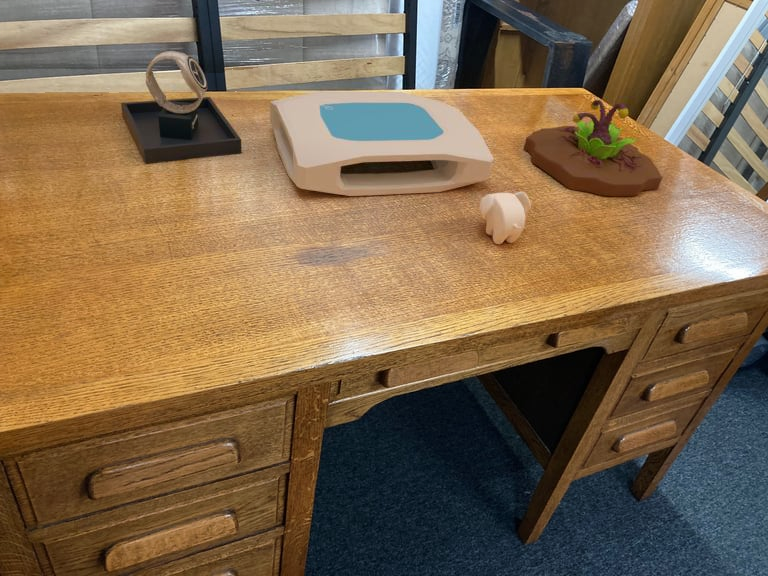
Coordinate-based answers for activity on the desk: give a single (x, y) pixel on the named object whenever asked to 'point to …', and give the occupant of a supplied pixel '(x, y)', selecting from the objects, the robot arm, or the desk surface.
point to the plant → (593, 156)
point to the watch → (178, 116)
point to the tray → (207, 139)
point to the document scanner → (376, 142)
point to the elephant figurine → (505, 215)
